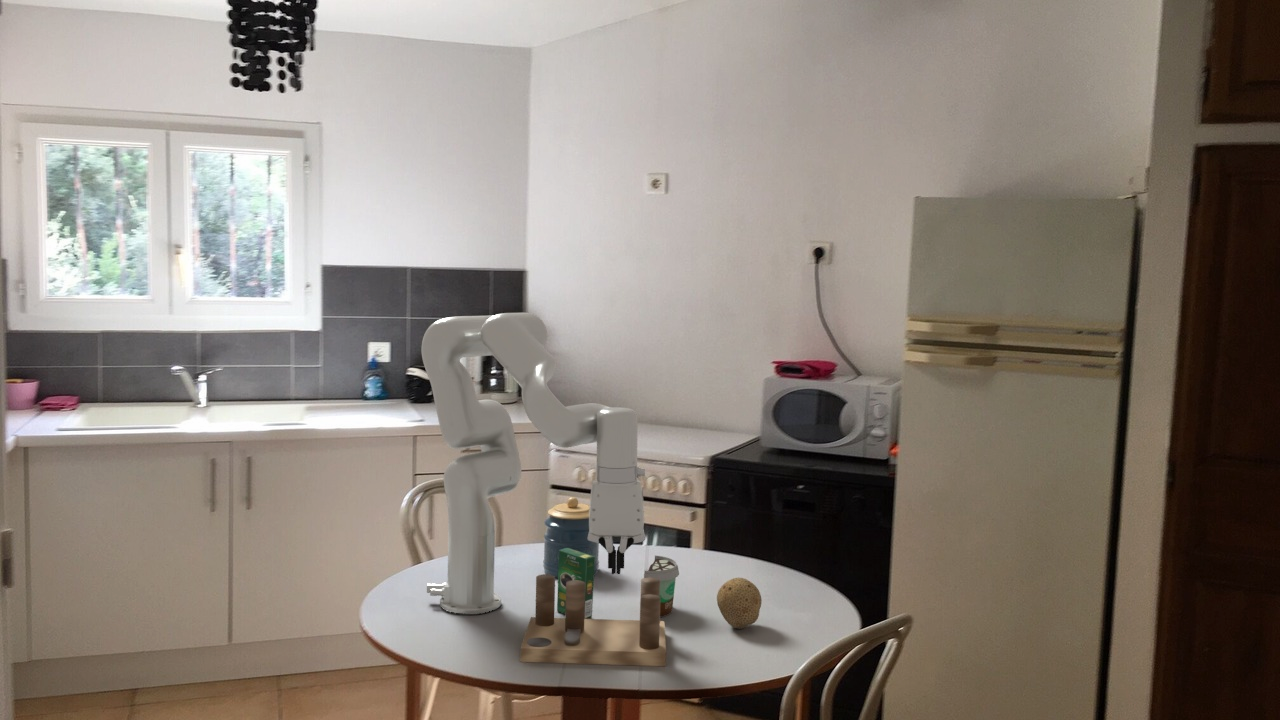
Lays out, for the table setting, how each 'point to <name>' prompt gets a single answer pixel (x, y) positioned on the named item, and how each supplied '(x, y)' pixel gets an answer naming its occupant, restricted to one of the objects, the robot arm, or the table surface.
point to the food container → (664, 581)
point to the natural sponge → (739, 602)
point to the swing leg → (574, 611)
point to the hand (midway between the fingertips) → (616, 571)
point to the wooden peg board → (596, 633)
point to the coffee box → (575, 577)
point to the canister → (567, 534)
